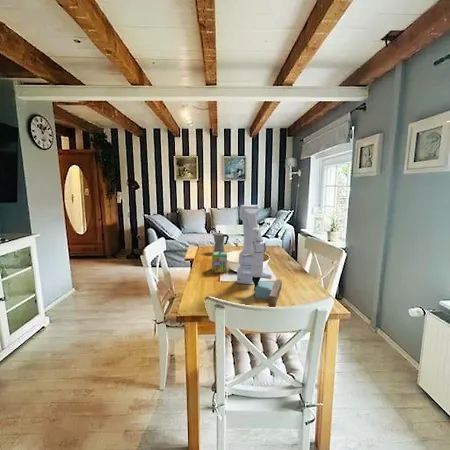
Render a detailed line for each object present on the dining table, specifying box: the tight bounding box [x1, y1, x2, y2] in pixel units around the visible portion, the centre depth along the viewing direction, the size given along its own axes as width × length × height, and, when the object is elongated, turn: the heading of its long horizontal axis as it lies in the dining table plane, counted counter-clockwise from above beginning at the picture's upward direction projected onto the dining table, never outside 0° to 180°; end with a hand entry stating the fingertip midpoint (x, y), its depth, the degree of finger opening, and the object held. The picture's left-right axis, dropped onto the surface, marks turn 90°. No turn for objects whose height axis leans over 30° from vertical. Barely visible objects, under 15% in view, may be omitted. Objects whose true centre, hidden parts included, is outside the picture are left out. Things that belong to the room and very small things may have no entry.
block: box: [254, 280, 275, 300], centre depth 140 cm, size 8×10×5 cm
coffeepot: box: [212, 230, 229, 252], centre depth 225 cm, size 15×9×18 cm, turn 59°
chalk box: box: [211, 248, 228, 274], centre depth 177 cm, size 9×9×15 cm
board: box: [268, 279, 283, 307], centre depth 139 cm, size 3×24×4 cm, turn 162°
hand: (256, 290), depth 142 cm, fingers closed, pressing on block
